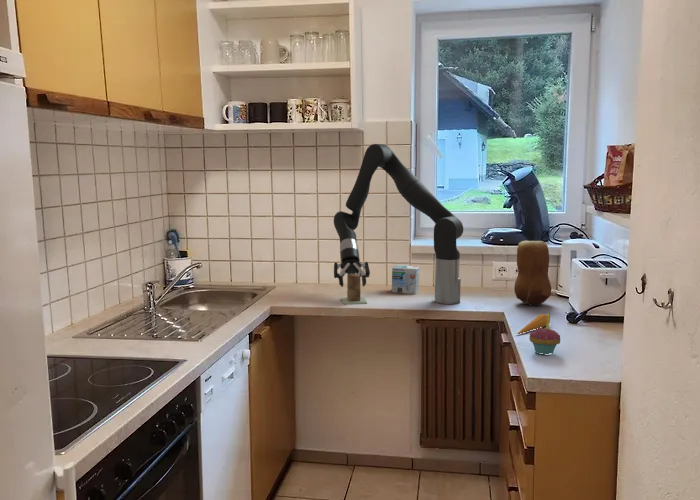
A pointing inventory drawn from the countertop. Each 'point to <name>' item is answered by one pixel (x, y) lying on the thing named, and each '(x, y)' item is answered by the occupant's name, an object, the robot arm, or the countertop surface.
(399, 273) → the light bulb box
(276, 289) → the countertop surface
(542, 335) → the cupcake
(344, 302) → the coaster
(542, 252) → the butternut squash
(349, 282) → the walnut block
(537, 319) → the carrot
